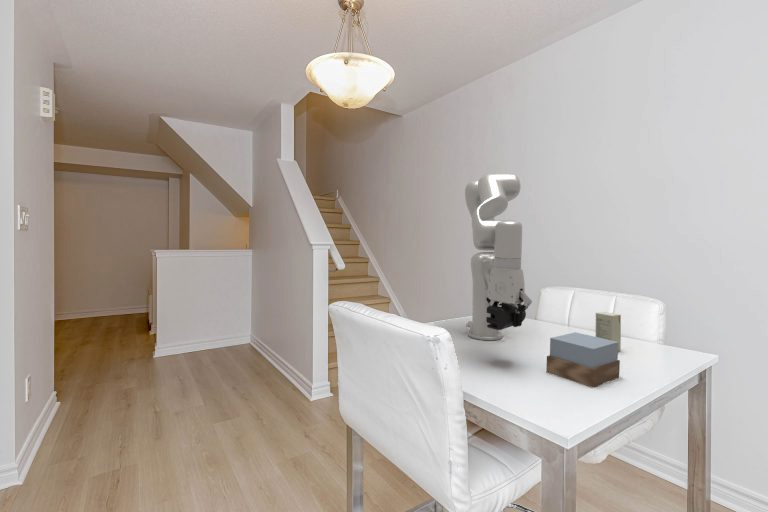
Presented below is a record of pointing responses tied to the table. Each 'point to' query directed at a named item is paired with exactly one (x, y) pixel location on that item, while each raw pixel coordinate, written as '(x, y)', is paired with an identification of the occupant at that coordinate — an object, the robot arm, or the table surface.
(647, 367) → the table surface
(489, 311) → the end cap
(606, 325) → the skincare box
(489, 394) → the table surface
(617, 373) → the walnut base block
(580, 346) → the slate top block
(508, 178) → the robot arm
